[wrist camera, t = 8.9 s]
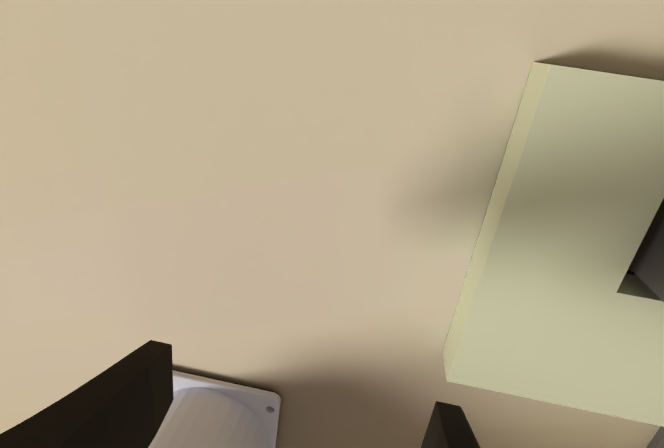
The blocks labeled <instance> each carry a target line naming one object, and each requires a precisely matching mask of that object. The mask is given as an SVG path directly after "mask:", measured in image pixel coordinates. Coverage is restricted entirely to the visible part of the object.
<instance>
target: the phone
mask: <svg viewBox="0 0 664 448" xmlns="http://www.w3.org/2000/svg"><path fill="white" fill-rule="evenodd" d="M647 448H664V427H662V426H661V428H660V429H659V430H658V432H657V433H656V435H655V436H654V438H653V439H652V441H651V442H650V443H649V445H648V446H647Z"/></svg>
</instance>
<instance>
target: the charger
mask: <svg viewBox="0 0 664 448" xmlns="http://www.w3.org/2000/svg"><path fill="white" fill-rule="evenodd" d="M629 269H630V270H631V271H632V272H633V273H634V274H636V275H637V276H638V277H639V278H640V279H641V280H642V281H643V282H644V283H645V284H646V285H647V286H648V287H649V288H650V289H651V290H652V291H653V292H654V293H655V294H656V295H657V296H658V297H659V298H660V299H661V300H662V301H663V302H664V198H663V200H662V202H661V204H660V206H659V208H658V210H657V212H656V214H655V216H654V218H653V220H652V222H651V224H650V226H649V228H648V230H647V232H646V234H645V236H644V238H643V240H642V242H641V244H640V246H639V248H638V250H637V252H636V254H635V256H634V258H633V260H632V262H631V264H630V266H629Z"/></svg>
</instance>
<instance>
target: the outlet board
mask: <svg viewBox="0 0 664 448" xmlns="http://www.w3.org/2000/svg"><path fill="white" fill-rule="evenodd" d="M663 198H664V81H660V80H654V79H647V78H640V77H633V76H626V75H620V74H613V73H606V72H599V71H592V70H585V69H579V68H572V67H565V66H558V65H551V64H544V63H538V62H533V65H532V68H531V71H530V74H529V78H528V81H527V84H526V87H525V90H524V94H523V97H522V100H521V103H520V106H519V109H518V113H517V116H516V119H515V122H514V125H513V129H512V132H511V135H510V138H509V141H508V145H507V148H506V151H505V154H504V157H503V160H502V164H501V167H500V170H499V173H498V176H497V180H496V183H495V186H494V189H493V192H492V196H491V199H490V202H489V205H488V208H487V212H486V215H485V218H484V221H483V224H482V227H481V231H480V234H479V237H478V240H477V243H476V247H475V250H474V253H473V256H472V259H471V263H470V266H469V269H468V272H467V275H466V278H465V282H464V285H463V288H462V291H461V294H460V298H459V301H458V304H457V307H456V310H455V314H454V317H453V320H452V323H451V326H450V329H449V333H448V336H447V339H446V342H445V345H444V349H443V352H442V353H443V361H444V368H445V375H446V381H448V382H453V383H457V384H462V385H467V386H472V387H476V388H481V389H486V390H491V391H496V392H500V393H505V394H510V395H515V396H519V397H524V398H529V399H534V400H538V401H543V402H548V403H553V404H557V405H562V406H567V407H572V408H577V409H581V410H586V411H591V412H596V413H600V414H605V415H610V416H615V417H619V418H624V419H629V420H634V421H639V422H643V423H648V424H653V425H658V426H662V427H664V302H663V301H662V300H661V299H660V298H659V297H658V296H657V295H656V294H655V293H654V292H653V291H652V290H651V289H650V288H649V287H648V286H647V285H646V284H645V283H644V282H643V281H642V280H641V279H640V278H639V277H638V276H637V275H632V274H626V272H627V270H628V268H629V266H630V264H631V262H632V260H633V258H634V256H635V254H636V252H637V250H638V248H639V246H640V244H641V242H642V240H643V238H644V236H645V234H646V232H647V230H648V228H649V226H650V224H651V222H652V220H653V218H654V216H655V214H656V212H657V210H658V208H659V206H660V204H661V202H662V200H663Z"/></svg>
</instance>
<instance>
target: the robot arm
mask: <svg viewBox="0 0 664 448" xmlns="http://www.w3.org/2000/svg"><path fill="white" fill-rule="evenodd" d="M280 403H281V399H280V397H279V395H278V394H276V393H274V392H270V391H265V390H261V389H256V388H251V387H247V386H242V385H238V384H233V383H229V382H224V381H220V380H215V379H210V378H206V377H201V376H197V375H192V374H188V373H183V372H178V371H174V370H173V369H172V345H171V344H166V343H162V342H157V341H152V340H150V341H149V342H147V343H145V344H144V345H142V346H141V347H139V348H138V349H136V350H135V351H133V352H132V353H130V354H129V355H127V356H126V357H124V358H123V359H121V360H120V361H119V362H117V363H116V364H114V365H113V366H111V367H110V368H108V369H107V370H105V371H104V372H102V373H101V374H99V375H98V376H96V377H95V378H93V379H92V380H90V381H88V382H87V383H85V384H84V385H82V386H81V387H79V388H78V389H76V390H75V391H73V392H72V393H70V394H68V395H67V396H65V397H64V398H62V399H60V400H59V401H57V402H55V403H54V404H52V405H50V406H49V407H47V408H45V409H44V410H42V411H40V412H39V413H37V414H35V415H34V416H32V417H30V418H29V419H27V420H25V421H23V422H22V423H20V424H18V425H16V426H14V427H13V428H11V429H9V430H7V431H5V432H4V433H2V434H0V448H276V439H277V430H278V421H279V412H280ZM269 406H271V407H269ZM421 448H480V446H479V444H478V442H477V440H476V438H475V436H474V434H473V432H472V429H471V427H470V425H469V423H468V421H467V419H466V416H465V414H464V412H463V410H462V409H461V407H460V406H456V405H451V404H447V403H442V402H437V401H436V403H435V406H434V409H433V412H432V415H431V418H430V422H429V425H428V428H427V431H426V434H425V437H424V440H423V443H422V446H421Z"/></svg>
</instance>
